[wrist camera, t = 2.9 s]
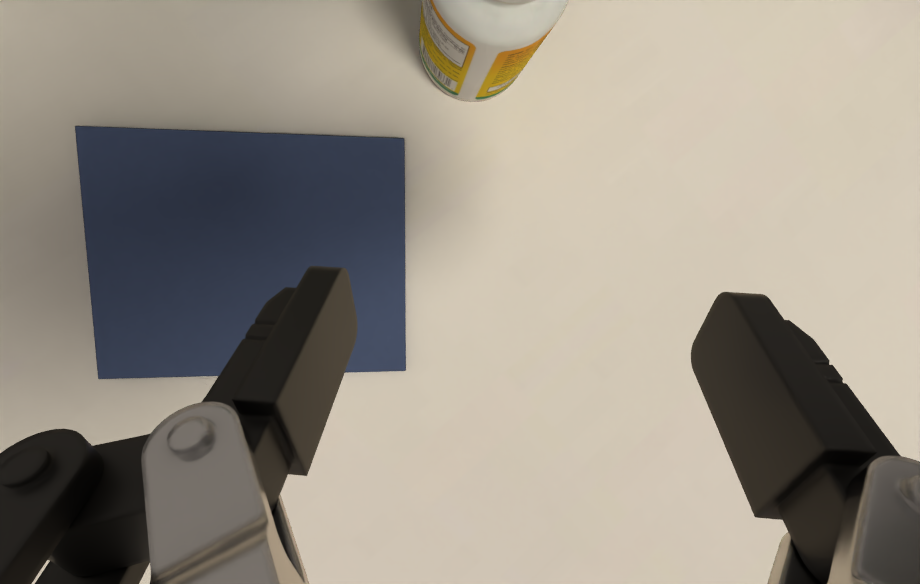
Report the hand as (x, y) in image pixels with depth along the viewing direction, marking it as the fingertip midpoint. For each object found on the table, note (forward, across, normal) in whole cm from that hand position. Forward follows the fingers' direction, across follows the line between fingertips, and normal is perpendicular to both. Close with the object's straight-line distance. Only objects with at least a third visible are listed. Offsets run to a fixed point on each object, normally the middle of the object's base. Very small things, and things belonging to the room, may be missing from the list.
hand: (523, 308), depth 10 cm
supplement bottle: (+18, +2, -2) cm, 18 cm away
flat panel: (+10, +12, +6) cm, 17 cm away
